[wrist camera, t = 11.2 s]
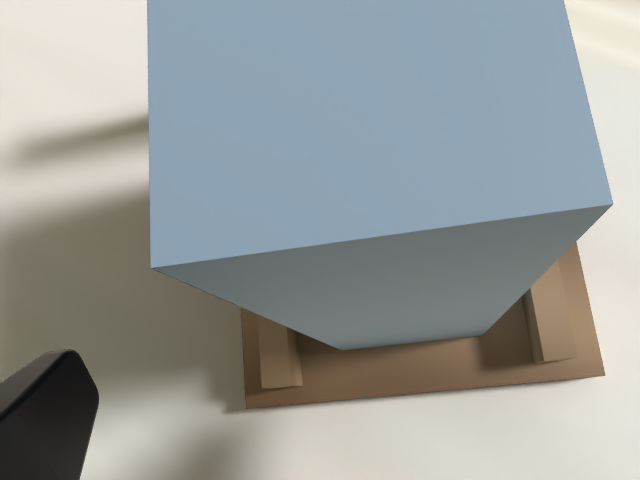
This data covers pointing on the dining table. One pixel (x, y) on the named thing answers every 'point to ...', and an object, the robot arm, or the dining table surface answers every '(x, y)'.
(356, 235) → the blue angular block
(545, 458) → the dining table surface
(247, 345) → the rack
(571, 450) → the dining table surface
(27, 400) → the robot arm
